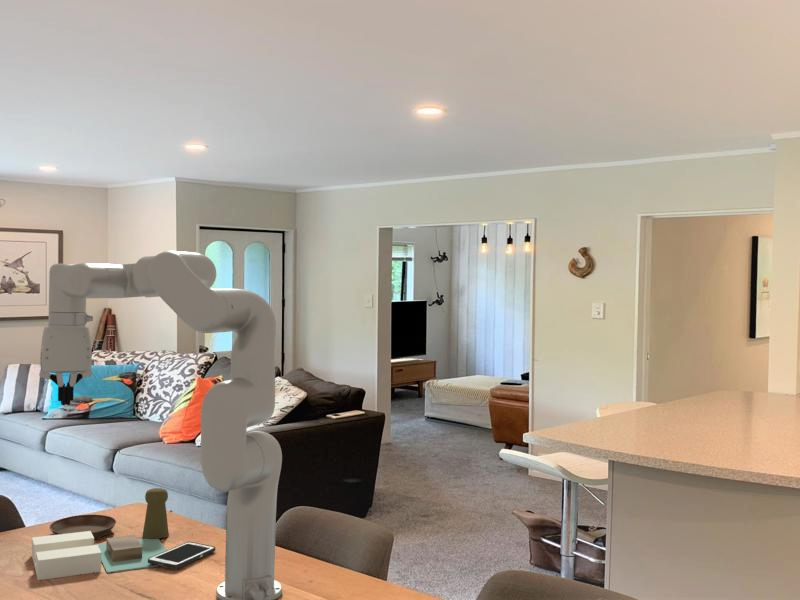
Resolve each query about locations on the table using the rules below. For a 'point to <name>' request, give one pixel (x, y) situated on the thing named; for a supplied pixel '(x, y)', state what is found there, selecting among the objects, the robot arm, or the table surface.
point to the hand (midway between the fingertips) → (65, 404)
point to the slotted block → (65, 555)
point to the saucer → (84, 525)
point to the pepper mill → (156, 514)
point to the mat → (148, 550)
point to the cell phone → (181, 555)
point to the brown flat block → (124, 548)
